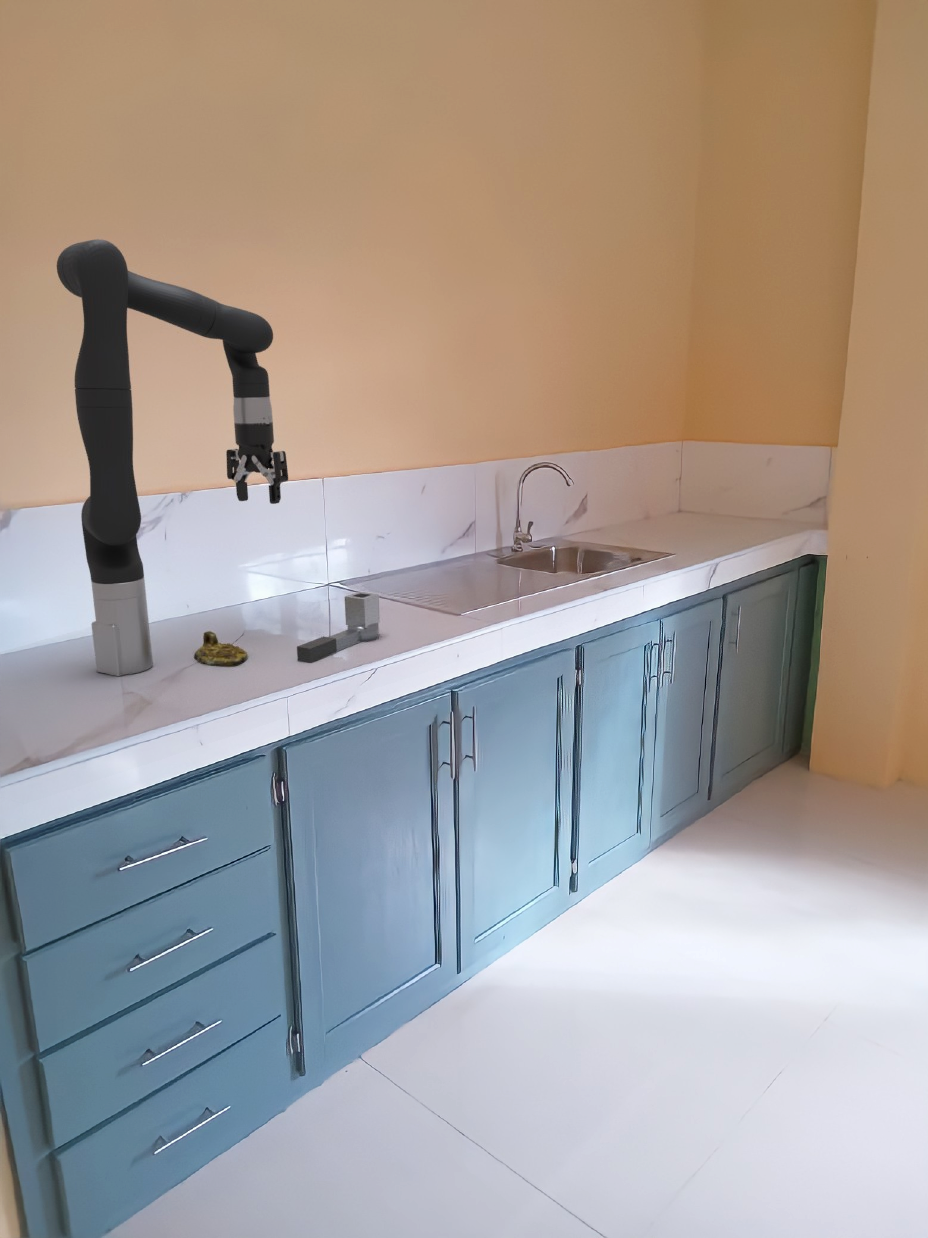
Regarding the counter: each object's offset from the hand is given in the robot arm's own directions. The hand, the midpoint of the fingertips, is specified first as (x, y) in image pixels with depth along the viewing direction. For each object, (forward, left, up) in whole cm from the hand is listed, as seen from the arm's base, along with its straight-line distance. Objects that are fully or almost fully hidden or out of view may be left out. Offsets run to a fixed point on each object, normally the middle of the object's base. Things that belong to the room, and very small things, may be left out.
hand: (259, 502), depth 191 cm
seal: (-16, -2, -29) cm, 33 cm away
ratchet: (0, -19, -28) cm, 34 cm away
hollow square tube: (+8, -19, -25) cm, 32 cm away
